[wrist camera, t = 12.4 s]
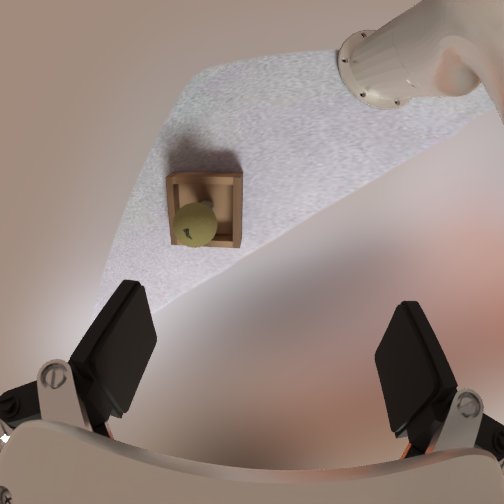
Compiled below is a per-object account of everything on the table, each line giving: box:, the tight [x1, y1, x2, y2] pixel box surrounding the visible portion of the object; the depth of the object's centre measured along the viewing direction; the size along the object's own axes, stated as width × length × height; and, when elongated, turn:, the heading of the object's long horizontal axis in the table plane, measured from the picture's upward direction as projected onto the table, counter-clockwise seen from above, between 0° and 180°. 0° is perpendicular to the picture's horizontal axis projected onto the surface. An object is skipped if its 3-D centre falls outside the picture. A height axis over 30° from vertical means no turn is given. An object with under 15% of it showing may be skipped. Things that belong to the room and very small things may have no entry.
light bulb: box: [173, 200, 217, 248], centre depth 36 cm, size 6×6×10 cm
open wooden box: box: [166, 172, 243, 248], centre depth 39 cm, size 10×10×4 cm
